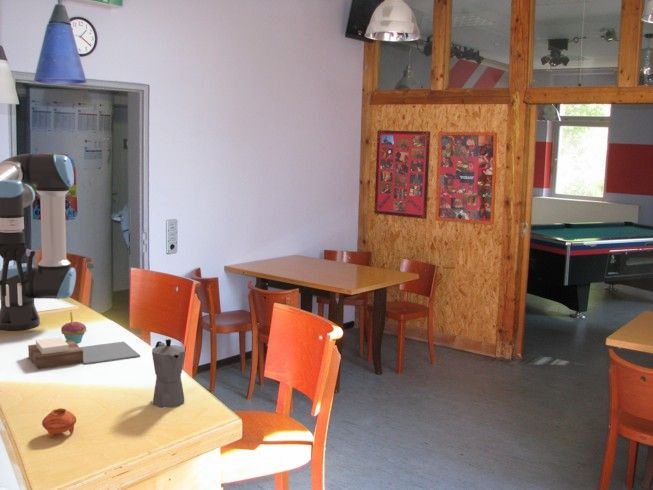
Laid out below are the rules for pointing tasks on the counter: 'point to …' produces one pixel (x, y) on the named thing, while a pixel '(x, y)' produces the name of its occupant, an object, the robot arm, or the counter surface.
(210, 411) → the counter surface
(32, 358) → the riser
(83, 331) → the cupcake
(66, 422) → the pot
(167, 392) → the coffeepot
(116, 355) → the mat
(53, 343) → the cream rectangular block
